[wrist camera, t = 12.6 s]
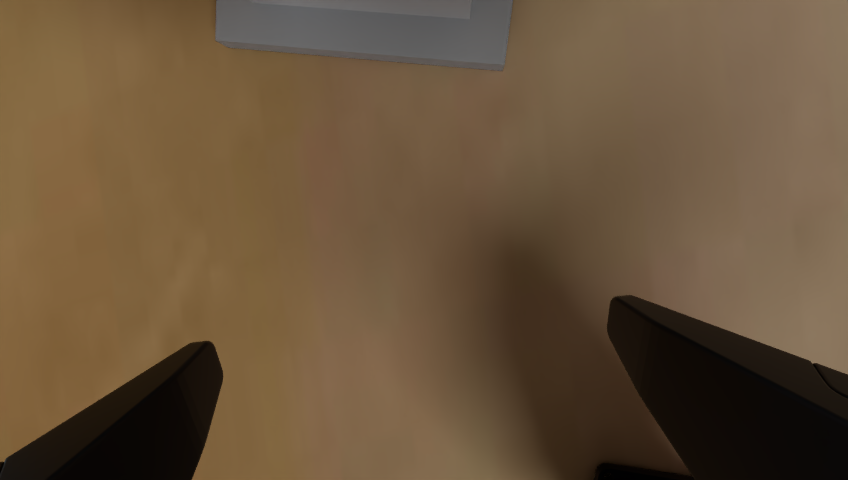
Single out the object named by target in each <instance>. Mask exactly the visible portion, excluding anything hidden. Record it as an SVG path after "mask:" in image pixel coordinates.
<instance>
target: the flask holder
mask: <svg viewBox="0 0 848 480" xmlns="http://www.w3.org/2000/svg"><path fill="white" fill-rule="evenodd" d="M512 4H513V0H216V40H215V41H217V42H219V43H221V44H223V45H225V46H226V47H228V48H240V49H251V50H263V51H275V52H286V53H298V54H310V55H322V56H333V57H345V58H357V59H368V60H380V61H392V62H403V63H415V64H427V65H438V66H450V67H462V68H473V69H485V70H497V71H502V70H503V68H504V65H505V57H506V50H507V42H508V34H509V27H510V19H511V11H512Z"/></svg>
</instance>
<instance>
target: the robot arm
mask: <svg viewBox="0 0 848 480" xmlns="http://www.w3.org/2000/svg"><path fill="white" fill-rule="evenodd" d="M607 332H608V335H609V338H610V340H611V342H612V344H613V346H614V348H615V350H616V352H617V354H618V355H619V357H620V359H621V361H622V363H623V365H624V367H625V369H626V371H627V373H628V375H629V377H630V379H631V381H632V383H633V384H634V386H635V388H636V390H637V392H638V393H639V395H640V397H641V398H642V400H643V402H644V403H645V405H646V406H647V408H648V409H649V411H650V412H651V414H652V415H653V417H654V418H655V420H656V421H657V423H658V424H659V426H660V428H661V429H662V431H663V432H664V434H665V435H666V437H667V438H668V440H669V441H670V443H671V444H672V446H673V447H674V449H675V450H676V452H677V453H678V455H679V456H680V458H681V459H682V461H683V462H684V464H685V466H686V467H687V469H688V470H689V472H690V473H691V475H692V476H693V477H691V476H685V475H678V474H672V473H666V472H660V471H653V470H647V469H641V468H635V467H628V466H622V465H616V464H610V463H603V464H600V465H599V466H598V467H597V469H596V472H595V477H594V480H848V375H847V374H845V373H842V372H839V371H836V370H834V369H831V368H828V367H825V366H823V365H820V364H817V363H814V364H812V362H811V361H809V360H806V359H803V358H801V357H798V356H795V355H793V354H790V353H787V352H784V351H782V350H779V349H776V348H774V347H771V346H768V345H765V344H763V343H760V342H757V341H755V340H752V339H749V338H746V337H744V336H741V335H738V334H736V333H733V332H730V331H727V330H725V329H722V328H719V327H717V326H714V325H711V324H708V323H706V322H703V321H700V320H698V319H695V318H692V317H689V316H687V315H684V314H681V313H679V312H676V311H673V310H670V309H668V308H665V307H662V306H660V305H657V304H654V303H651V302H649V301H646V300H643V299H641V298H638V297H635V296H632V295H625V296H616V297H614V298H612V300H611V302H610V308H609V316H608V324H607ZM222 382H223V370H222V367H221V364H220V361H219V358H218V355H217V352H216V349H215V346H214V344H213V343H212V342H210V341H202V342H193V343H190V344H188V345H186V346H185V347H183V348H181V349H180V350H178V351H177V352H175V353H173V354H172V355H170V356H169V357H167V358H165V359H164V360H162V361H161V362H159V363H157V364H156V365H154V366H153V367H151V368H149V369H148V370H146V371H145V372H143V373H142V374H140V375H138V376H137V377H135V378H134V379H132V380H130V381H129V382H127V383H126V384H124V385H122V386H121V387H119V388H118V389H116V390H114V391H113V392H111V393H110V394H108V395H106V396H105V397H103V398H102V399H100V400H98V401H97V402H95V403H94V404H92V405H90V406H89V407H87V408H86V409H84V410H82V411H81V412H79V413H78V414H76V415H74V416H73V417H71V418H70V419H68V420H66V421H65V422H63V423H62V424H60V425H58V426H57V427H55V428H54V429H52V430H51V431H49V432H47V433H46V434H44V435H43V436H41V437H39V438H38V439H36V440H35V441H33V442H31V443H30V444H28V445H27V446H25V447H23V448H22V449H20V450H19V451H17V452H15V453H14V454H12V455H11V456H9V457H7V458H6V459H5V462H0V480H192V477H193V475H194V472H195V470H196V467H197V465H198V462H199V460H200V457H201V454H202V452H203V449H204V446H205V443H206V439H207V436H208V433H209V429H210V425H211V422H212V418H213V414H214V411H215V407H216V404H217V400H218V396H219V393H220V389H221V385H222ZM607 473H611V474H610V475H609V476H606V477H605V476H604V475H605V474H607Z"/></svg>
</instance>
